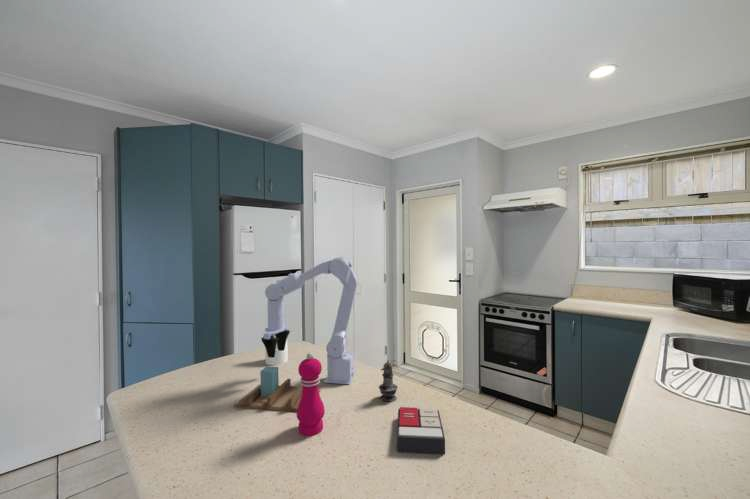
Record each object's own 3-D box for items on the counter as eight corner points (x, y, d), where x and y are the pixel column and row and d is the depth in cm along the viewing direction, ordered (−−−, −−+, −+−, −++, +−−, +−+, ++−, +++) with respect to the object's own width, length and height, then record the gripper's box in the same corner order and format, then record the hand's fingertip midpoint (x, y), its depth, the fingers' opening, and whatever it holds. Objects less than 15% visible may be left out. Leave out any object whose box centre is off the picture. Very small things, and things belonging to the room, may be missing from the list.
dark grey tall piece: (397, 394, 103) (397, 357, 103) (397, 403, 97) (396, 363, 97) (379, 393, 104) (379, 356, 104) (378, 402, 98) (377, 363, 98)
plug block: (278, 391, 103) (278, 367, 103) (272, 397, 99) (272, 371, 99) (267, 391, 104) (266, 366, 104) (260, 396, 100) (260, 371, 100)
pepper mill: (329, 424, 86) (328, 350, 86) (316, 439, 79) (315, 358, 79) (306, 419, 88) (305, 347, 88) (291, 434, 81) (290, 355, 81)
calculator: (438, 406, 88) (445, 435, 73) (438, 423, 88) (445, 455, 73) (398, 405, 89) (396, 433, 74) (398, 421, 89) (396, 453, 74)
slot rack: (320, 391, 106) (320, 380, 106) (304, 412, 92) (304, 400, 92) (259, 387, 110) (259, 377, 110) (234, 407, 96) (234, 395, 96)
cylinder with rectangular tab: (261, 364, 132) (261, 335, 132) (271, 357, 141) (271, 330, 141) (281, 365, 130) (281, 336, 130) (291, 358, 139) (290, 330, 139)
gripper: (275, 312, 124) (275, 347, 124) (255, 320, 110) (255, 360, 110) (292, 312, 123) (292, 347, 123) (274, 321, 109) (274, 360, 109)
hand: (276, 353), depth 116 cm, fingers open, 7 cm apart
